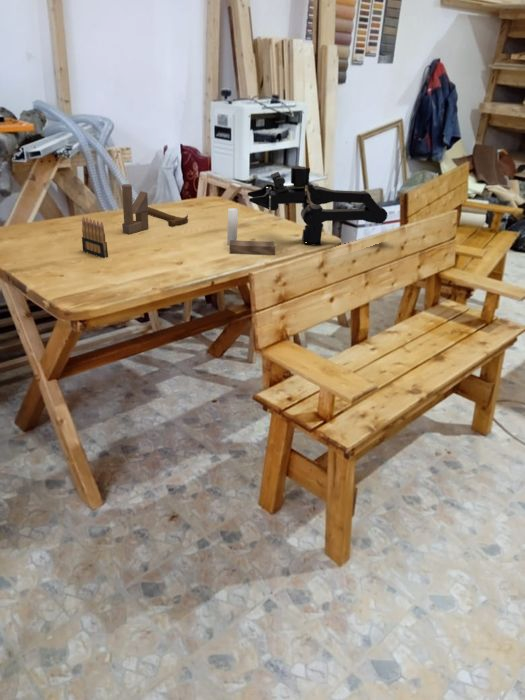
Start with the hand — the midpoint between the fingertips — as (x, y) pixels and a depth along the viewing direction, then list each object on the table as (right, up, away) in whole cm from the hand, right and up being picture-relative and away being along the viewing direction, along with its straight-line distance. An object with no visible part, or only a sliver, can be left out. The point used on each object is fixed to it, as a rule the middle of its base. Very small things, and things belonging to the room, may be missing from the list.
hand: (248, 196), depth 206 cm
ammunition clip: (-52, -24, -15) cm, 59 cm away
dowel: (-6, -17, +3) cm, 18 cm away
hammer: (-38, 0, +32) cm, 49 cm away
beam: (+1, -21, -3) cm, 21 cm away
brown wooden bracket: (-44, -10, +11) cm, 47 cm away
